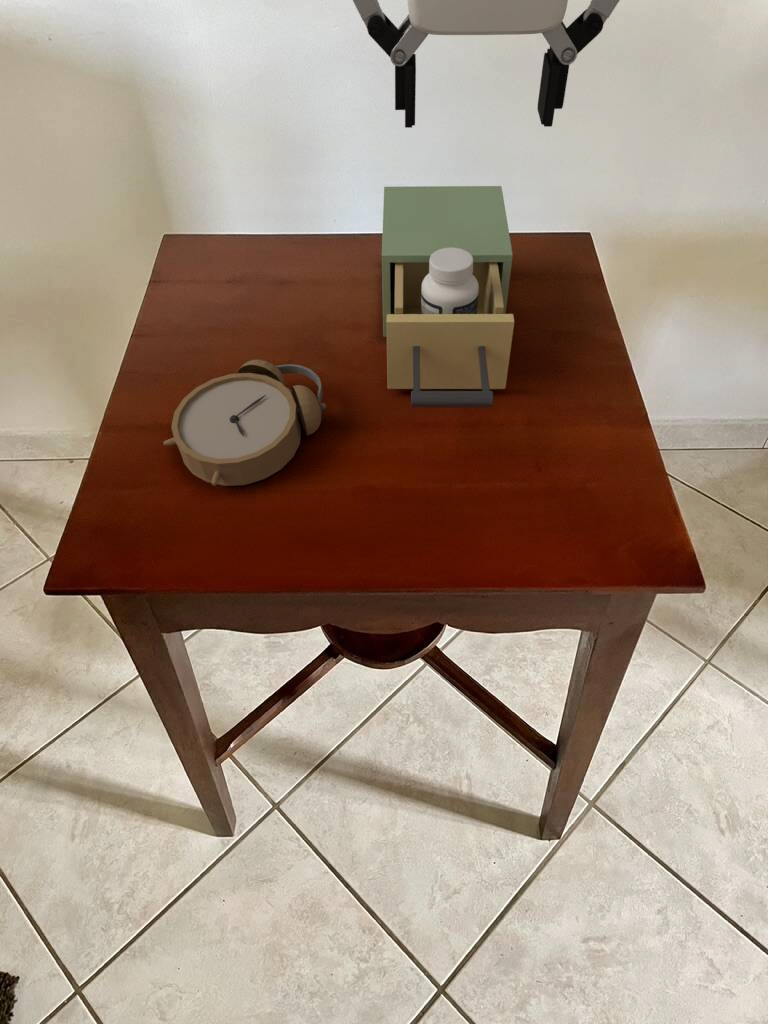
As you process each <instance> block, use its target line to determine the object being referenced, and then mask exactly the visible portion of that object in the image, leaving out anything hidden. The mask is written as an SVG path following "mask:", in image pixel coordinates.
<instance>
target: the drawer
mask: <svg viewBox="0 0 768 1024" xmlns="http://www.w3.org/2000/svg"><path fill="white" fill-rule="evenodd" d="M428 274H429V262H395V314H387V337H386V368H387V369H386V378H387V379H386V382H387V385H386V387H387V390H411V391H410V406H411V408H493V406H494V391H493V390H505V389H506V386H507V380H508V372H509V366H510V358H511V351H512V350H511V349H512V342H513V335H514V328H515V317H514V314H513V313H506V314H503V311H504V304H503V297H502V290H501V283H500V276H499V269H498V262H473V272H472V275H473V276H474V277H475V278H476V280H477V282H478V286H479V293H478V305H477V314H421V288H422V282H423V280H424V278H425V277H426V276H427V275H428Z"/></svg>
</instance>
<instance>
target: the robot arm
mask: <svg viewBox="0 0 768 1024" xmlns="http://www.w3.org/2000/svg"><path fill="white" fill-rule="evenodd" d="M620 1H621V0H591V1H590V4H589V5H588V6H587V8H586V9H584V11H582V12H581V14H579V15H578V16H577V18H575V19H574V20H573V21H572V22H571V23H570V24H569V25H568V26H566V24H565V23H564V21H563V20H564V19H565V15H566V13H567V8H568V3H569V0H407V9H408V14H407V16H406V17H405V19H404V20H403V21H402V23H401V24H400V25H399V26H398V27H397V26H396V25H395V24H394V23H393V22H392V21H391V20H390V18H389V17H388V16H387V15H386V14H385V13H384V12H383V10H382V8H381V6H380V3H379V1H378V0H352V2H353V4H354V6H355V8H356V10H357V12H358V13H359V16H360V18H361V20H362V21H363V23H364V25H365V27H366V29H367V33H368V35H369V36H370V37H371V39H372V40H373V41H374V42H375V43H376V45H378V46H379V47H380V48H381V50H383V52H384V53H386V55H387V56H388V57H389V58H390V62H391V63H392V65H393V66H394V111H404V129H405V128H406V129H407V128H408V129H409V128H411V129H412V128H413V126H416V95H417V94H416V93H417V92H416V89H417V87H416V83H417V82H416V81H417V59H416V51H417V50H418V49H419V47H420V46H421V45H422V44H423V43H424V41H425V40H426V38H427V37H428V36H429V35H433V36H507V35H508V36H509V35H511V36H512V35H518V36H519V35H538V34H542V36H543V37H544V39H545V40H546V42H547V44H548V46H549V48H547V51H546V52H544V53H543V60H542V67H541V68H542V69H541V76H540V85H539V92H538V93H539V94H538V100H537V114H538V116H539V122H540V125H542V126H543V127H544V128H545V127H546V128H548V127H551V128H552V127H553V123H554V116H555V110H562V109H563V107H564V102H565V97H566V90H567V82H568V78H569V77H568V76H569V69H570V65H571V64H574V62H575V61H576V59H577V57H578V54H580V52H581V51H583V50H584V49H585V48H586V47H587V46H588V45H589V44H591V42H593V40H594V39H595V38H597V36H598V35H599V34H600V33H602V31H603V29H604V25H605V23H606V21H607V20H608V19H609V18H610V17H611V15H612V13H613V12H614V10H615V8H616V7H617V5H618V4H619V2H620Z"/></svg>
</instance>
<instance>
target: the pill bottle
mask: <svg viewBox="0 0 768 1024" xmlns="http://www.w3.org/2000/svg"><path fill="white" fill-rule="evenodd" d="M472 272H473V257H472V255H471V254H470V253H469V252H467V251H465V250H463V249H459V248H443V249H440V250H437V251H435V252H434V253H433V254H432V255H431V256H430V261H429V274H428V275H427V276H426V277H425V278H424V280H423V282H422V288H421V314H477V305H478V293H479V286H478V282H477V280H476V278H475V277H474V276H473V275H472Z"/></svg>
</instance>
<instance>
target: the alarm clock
mask: <svg viewBox="0 0 768 1024" xmlns="http://www.w3.org/2000/svg"><path fill="white" fill-rule="evenodd" d="M285 374H297V375H301V376H304V377H307V378H308V379H310V380H311V381H313V382H314V383H315V384H316V386H317V387H318V391H317V396H316V395H315V393H314V392H313V391H312V390H311V388H309V387H308V386H306V385H303V384H302V385H301V384H296V385H292V386H291V388H292V389H290V388H289V387H288V386H287V387H286V379H285V377H284V375H285ZM322 398H323V386H322V380H321V378H320V377H319V376H318V374H317V373H316V372H314V371H313V370H312V369H311V368H308V367H306V366H303V365H300V364H294V363H293V364H291V363H288V364H281V365H274V364H273V363H271V362H269V361H267V360H263V359H252V360H248V361H246V362H245V363H244V364H242V366H240V368H239V369H238V371H237V373H230V374H229V373H228V374H226V375H225V374H224V375H221V376H219V377H214V378H212V379H210V380H208V381H206V382H203V383H202V384H201V385H198V386H196V387H195V388H194V389H193V390H191V391H190V392H189V393H188V394H187V395H186V396H185V397H183V398H182V400H181V401H180V403H179V404H178V406H177V407H176V409H175V411H174V412H173V417H172V421H171V426H170V428H171V433H172V435H173V437H171V438H168V439H166V440H164V441H163V446H164V447H167V446H169V447H170V446H174V445H176V447H177V448H178V450H179V453H180V455H181V458H182V461H183V465H185V467H187V469H188V470H189V471H190V473H191V474H192V475H193V476H195V477H196V478H198V479H201V480H203V481H204V482H206V483H209V484H211V486H213V487H216V486H217V485H218V486H223V487H235V486H246V485H249V484H250V485H251V484H252V483H255V482H259V481H262V480H266V479H267V478H269V477H271V476H272V475H274V474H275V473H278V472H279V471H281V470H282V469H283V468H284V467H285V466H286V465H287V464H288V463H289V462H290V461H291V460H292V459H293V458H294V456H295V455H296V452H297V450H298V448H299V446H300V444H301V438H302V428H303V430H304V432H305V435H306V436H310V435H312V434H314V433H315V432H316V431H318V429H319V428H320V425H321V423H322V413H323V410H325V409H326V408H327V405H326V403H324V402H322ZM299 418H300V420H299ZM300 423H301V424H300ZM301 425H302V426H301Z"/></svg>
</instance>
